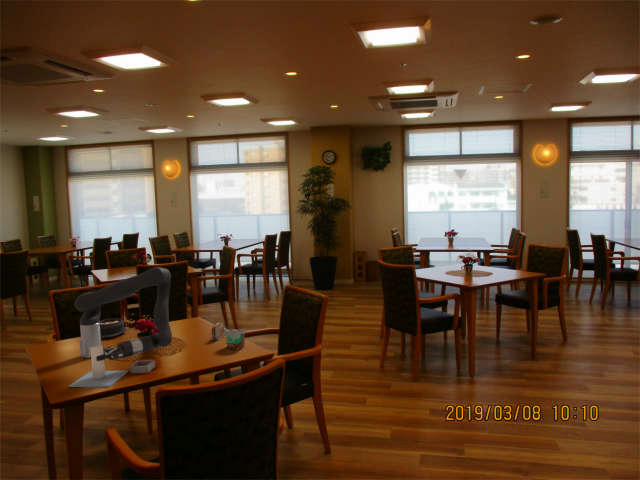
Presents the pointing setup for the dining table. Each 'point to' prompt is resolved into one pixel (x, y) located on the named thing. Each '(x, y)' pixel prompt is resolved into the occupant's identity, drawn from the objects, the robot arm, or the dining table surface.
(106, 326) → the casserole
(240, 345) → the food container
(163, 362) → the dining table surface
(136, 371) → the cup holder
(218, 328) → the tin
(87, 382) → the mat
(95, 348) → the cream tall cylinder
